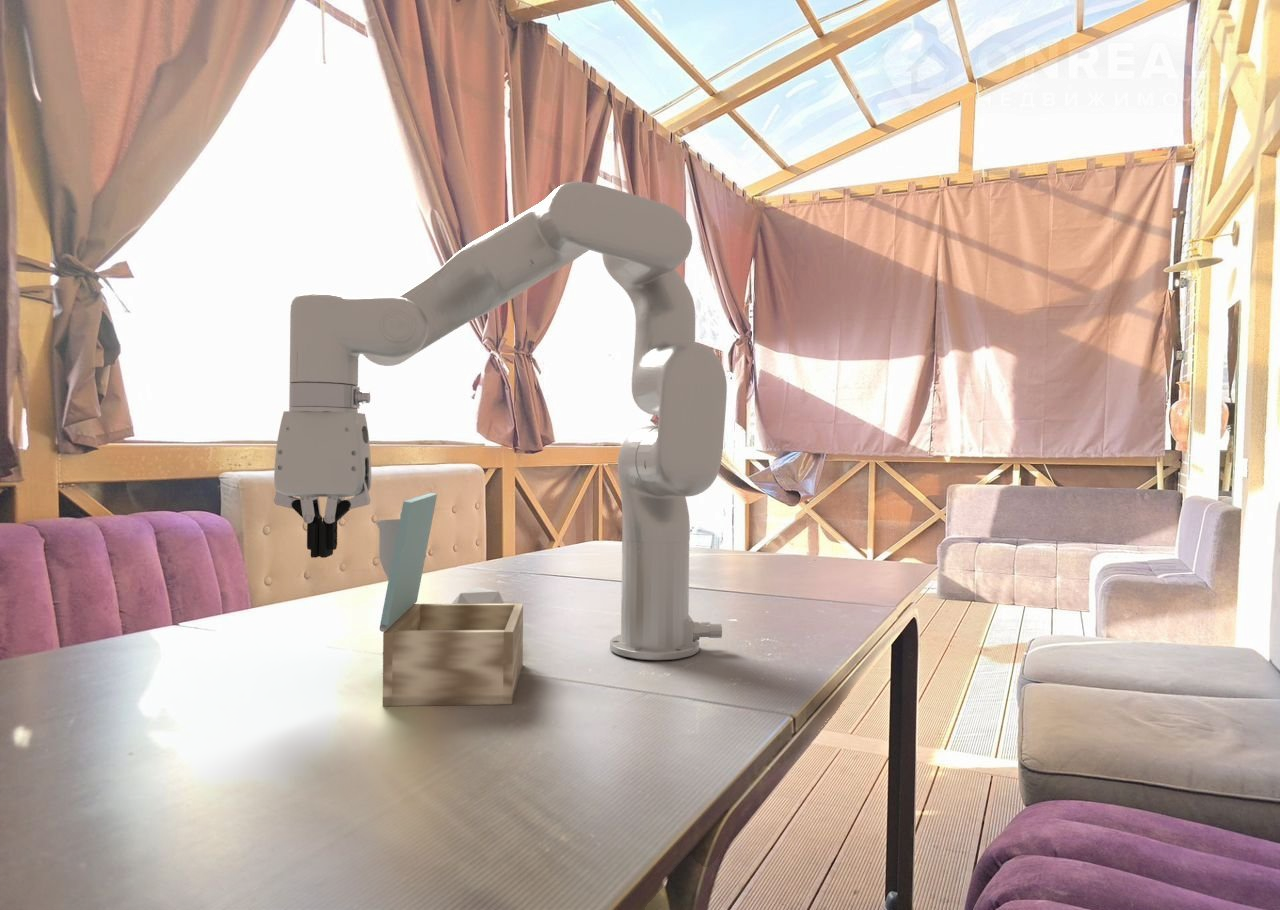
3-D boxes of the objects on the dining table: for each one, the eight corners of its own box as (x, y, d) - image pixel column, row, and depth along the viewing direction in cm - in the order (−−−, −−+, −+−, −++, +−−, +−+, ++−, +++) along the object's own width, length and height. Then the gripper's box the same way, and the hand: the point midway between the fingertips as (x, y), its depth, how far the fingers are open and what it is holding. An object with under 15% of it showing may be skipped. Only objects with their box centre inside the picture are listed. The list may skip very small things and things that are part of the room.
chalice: (436, 646, 112) (437, 519, 111) (418, 659, 105) (419, 524, 105) (386, 644, 112) (387, 518, 112) (365, 657, 106) (366, 523, 105)
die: (522, 651, 112) (517, 588, 118) (490, 632, 105) (486, 566, 111) (470, 669, 114) (467, 605, 120) (435, 651, 107) (433, 584, 112)
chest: (522, 664, 103) (523, 603, 103) (512, 704, 87) (512, 631, 87) (413, 665, 102) (413, 603, 102) (382, 706, 86) (383, 632, 86)
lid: (437, 494, 102) (424, 491, 102) (410, 502, 86) (396, 499, 86) (416, 603, 102) (404, 601, 102) (386, 632, 86) (371, 629, 86)
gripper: (396, 403, 97) (394, 552, 97) (271, 401, 96) (269, 551, 96) (380, 400, 90) (378, 561, 90) (245, 397, 89) (242, 560, 89)
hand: (322, 555), depth 93 cm, fingers closed
